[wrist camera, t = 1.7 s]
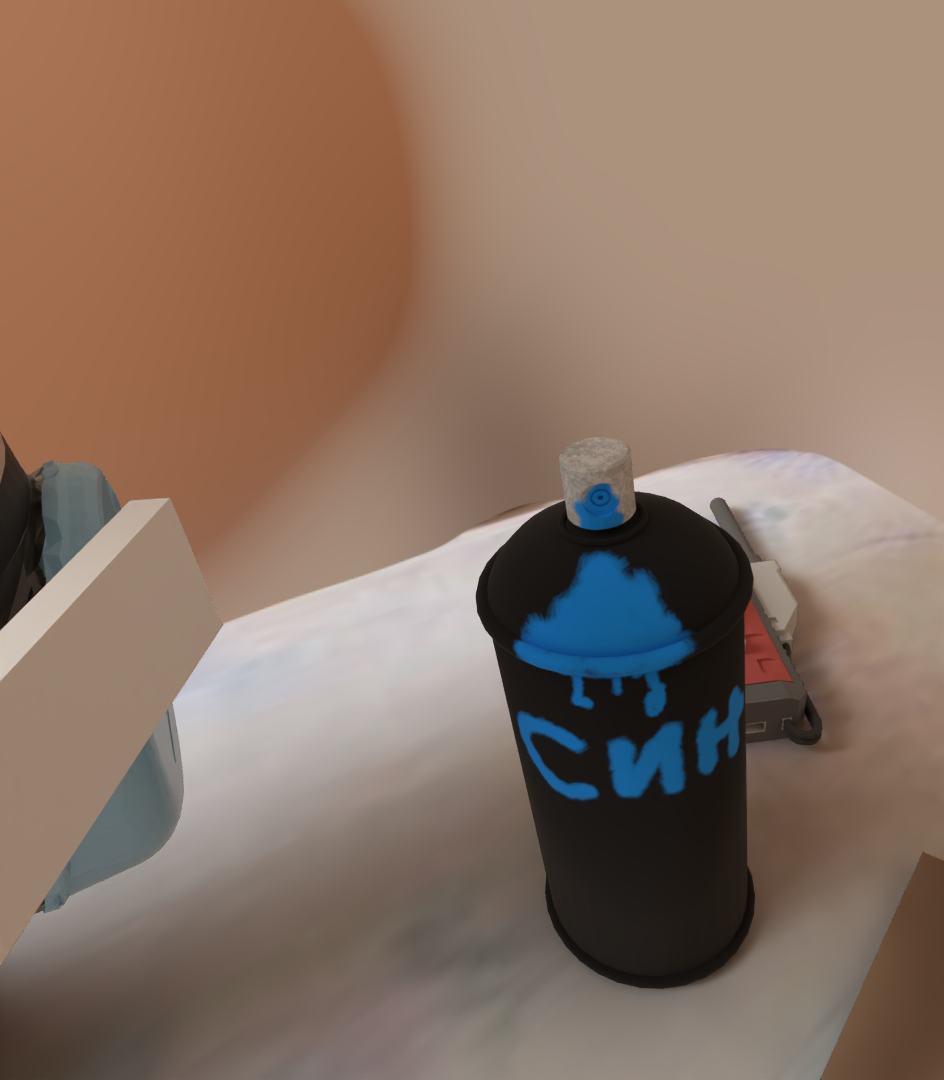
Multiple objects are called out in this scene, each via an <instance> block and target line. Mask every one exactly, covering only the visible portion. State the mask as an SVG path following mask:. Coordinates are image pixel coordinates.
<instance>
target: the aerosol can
mask: <svg viewBox="0 0 944 1080" xmlns="http://www.w3.org/2000/svg"><path fill="white" fill-rule="evenodd" d="M559 463H560V470H561V476H562V483H563V490H564V496H565V501H562V502H559V503H557V504H555V505H552V506H550V507H548V508H546V509H544V510H542V511H541V512H539V513H537V514H536V515H534V516H533V517H532V518H530V519H529V520H528V521H527V522H525V523H524V524H523V525H522V526H521V527H520V528H519V529H518V530H517V531H516V532H515V533H514V534H513V535H512V536H511V538H510V539H509V540H508V541H507V542H506V543H505V544H504V545H503V546H502V547H500V548H499V550H498V551H497V552H496V553H495V554H494V555H493V557H492V558H491V559H490V560H489V561H488V562H487V564H486V566H485V568H484V570H483V572H482V574H481V575H480V577H479V582H478V586H477V591H476V604H477V613H478V615H479V617H480V619H481V622H482V624H483V626H484V628H485V630H486V631H487V632H488V634H489V635H490V636H491V637H492V638H493V643H494V647H495V652H496V656H497V660H498V665H499V669H500V673H501V678H502V682H503V686H504V691H505V695H506V700H507V704H508V708H509V713H510V717H511V721H512V726H513V730H514V735H515V739H516V743H517V748H518V752H519V756H520V761H521V765H522V770H523V774H524V778H525V783H526V787H527V791H528V796H529V800H530V804H531V809H532V813H533V818H534V822H535V826H536V831H537V835H538V839H539V844H540V848H541V853H542V857H543V861H544V866H545V870H546V888H545V894H546V901H547V908H548V912H549V915H550V917H551V920H552V923H553V926H554V928H555V930H556V931H557V933H558V935H559V936H560V938H561V939H562V941H563V942H564V944H565V945H566V947H567V948H568V949H569V950H570V951H571V952H572V953H573V954H574V955H575V956H576V957H577V958H578V959H579V960H580V961H581V962H582V963H584V964H585V965H587V966H588V967H589V968H591V969H592V970H594V971H595V972H597V973H598V974H600V975H602V976H605V977H607V978H609V979H611V980H614V981H616V982H618V983H622V984H626V985H630V986H635V987H639V988H659V989H663V988H670V987H676V986H682V985H686V984H689V983H692V982H694V981H697V980H700V979H702V978H705V977H706V976H708V975H709V974H711V973H713V972H714V971H716V970H717V969H719V968H720V967H722V966H723V965H724V964H725V963H726V962H727V961H728V960H729V959H730V958H731V957H732V956H733V955H734V954H735V953H736V952H737V950H738V949H739V947H740V945H741V943H742V942H743V940H744V938H745V937H746V935H747V933H748V931H749V927H750V924H751V921H752V918H753V915H754V901H755V893H754V887H753V881H752V876H751V873H750V871H749V868H748V865H747V802H746V713H745V625H744V613H745V611H746V608H747V606H748V604H749V602H750V600H751V597H752V591H753V582H754V577H753V572H752V568H751V564H750V561H749V558H748V556H747V555H746V553H745V551H744V550H743V548H742V547H741V545H740V543H739V542H737V541H736V540H735V539H734V538H733V537H732V536H731V535H730V534H729V533H728V532H727V531H726V530H724V529H722V528H721V527H719V526H717V525H716V524H714V523H712V522H711V521H709V520H707V519H705V518H704V517H702V516H700V515H699V514H697V513H695V512H694V511H692V510H691V509H689V508H687V507H686V506H684V505H682V504H681V503H679V502H676V501H674V500H671V499H669V498H666V497H663V496H659V495H654V494H650V493H643V492H634V482H633V472H632V461H631V450H630V448H629V446H628V445H627V444H626V443H624V442H622V441H620V440H618V439H615V438H610V437H595V438H588V439H584V440H580V441H578V442H575V443H573V444H571V445H570V446H568V447H567V448H566V449H565V450H564V451H563V452H562V453H561V455H560V457H559Z"/></svg>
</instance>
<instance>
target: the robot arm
mask: <svg viewBox="0 0 944 1080" xmlns="http://www.w3.org/2000/svg"><path fill="white" fill-rule="evenodd" d="M222 626H223V624H222V621H221V619H220V617H219V614H218V612H217V609H216V607H215V605H214V602H213V600H212V597H211V595H210V593H209V590H208V588H207V585H206V583H205V581H204V578H203V576H202V573H201V571H200V569H199V566H198V564H197V561H196V559H195V557H194V555H193V552H192V550H191V547H190V545H189V542H188V540H187V538H186V535H185V533H184V530H183V528H182V526H181V523H180V521H179V518H178V516H177V514H176V511H175V509H174V506H173V504H172V502H171V499H170V498H162V499H148V500H133V501H129V502H128V503H127V504H126V506H124V508H122V509H121V506H120V503H119V501H118V498H117V496H116V494H115V492H114V490H113V488H112V487H111V485H110V484H109V482H108V481H107V480H106V478H105V476H104V474H103V472H102V471H101V470H100V469H99V468H97V467H96V466H94V465H93V464H91V463H83V462H77V463H68V464H64V463H62V462H53V461H50V462H47V463H44V464H43V466H42V467H41V468H39V469H38V470H36V471H35V472H33V473H32V474H30V475H28V474H26V473H25V471H24V470H23V468H22V467H21V466H20V464H19V463H18V461H17V459H16V457H15V456H14V454H13V452H12V451H11V449H10V448H9V446H8V444H7V443H6V441H5V439H4V437H3V436H2V434H1V432H0V965H1V964H2V962H3V961H4V959H5V958H6V956H7V955H8V953H9V952H10V950H11V949H12V947H13V946H14V944H15V942H16V941H17V939H18V938H19V936H20V935H21V933H22V932H23V930H24V929H25V927H26V926H27V924H28V923H29V921H30V920H31V918H32V916H33V915H34V914H35V913H38V912H40V911H44V913H46V912H50V911H53V910H56V909H59V908H60V907H61V906H62V905H64V903H65V902H66V900H67V899H68V897H69V896H71V895H73V894H75V893H77V892H79V891H81V890H84V889H86V888H88V887H90V886H92V885H95V884H97V883H99V882H101V881H103V880H105V879H108V878H110V877H112V876H114V875H116V874H118V873H121V872H123V871H125V870H127V869H129V868H132V867H134V866H136V865H138V864H140V863H142V862H144V861H146V860H147V859H149V858H150V857H152V856H153V855H154V854H156V853H157V852H158V851H159V850H160V849H161V848H162V847H163V846H164V845H165V843H166V842H167V841H168V840H169V838H170V837H171V835H172V833H173V832H174V830H175V827H176V825H177V822H178V820H179V818H180V813H181V809H182V803H183V795H184V786H183V770H182V761H181V753H180V745H179V738H178V732H177V726H176V720H175V715H174V709H173V704H172V702H173V701H174V699H175V698H176V696H177V695H178V693H179V692H180V690H181V689H182V687H183V686H184V684H185V682H186V681H187V679H188V678H189V676H190V675H191V673H192V672H193V670H194V669H195V667H196V666H197V664H198V663H199V661H200V660H201V658H202V656H203V655H204V653H205V652H206V650H207V649H208V647H209V646H210V644H211V643H212V641H213V640H214V638H215V637H216V635H217V634H218V632H219V630H220V629H221V627H222Z"/></svg>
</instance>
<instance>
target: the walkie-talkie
mask: <svg viewBox="0 0 944 1080" xmlns="http://www.w3.org/2000/svg"><path fill="white" fill-rule="evenodd" d="M710 508H711V510H712V512H713V514H714V516H715V518H716V520H717V522H718V524H719V526H720V527H721V528H722V529H724V530H726V531H727V532H728V533H729V534H730V535H731V536H732V537H733V538H734V539H735V540H736V541H737V542H739V543H740V545H741V547H742V548H743V550H744V551H745V553H746V555H747V556H748V558H749V561H750V564H751V568H752V572H753V577H754V582H753V591H752V597H751V600H750V602H749V604H748V606H747V608H746V611H745V613H744V625H745V713H746V743H752V742H760V741H767V740H775V739H783V738H790V739H791V740H792V741H793V742H795V743H797V744H801V745H812V744H815V743H817V742H818V741H819V739H820V738H821V731H822V722H821V719H820V717H819V715H818V713H817V711H816V709H815V707H814V705H813V703H812V701H811V699H810V698H809V696H808V694H807V690H806V689H805V688H804V686H803V684H804V683H803V682H802V681H801V680H800V679H799V674H798V673H796V671H795V666H794V665H792V663H791V659H790V658H791V657H790V655H791V653H792V644H793V638H792V636H793V634H794V632H795V629H796V624H797V615H798V606H799V605H798V603H797V601H796V599H795V597H794V596H793V594H792V592H791V591H790V589H789V587H788V585H787V584H786V582H785V580H784V579H783V577H782V575H781V573H780V572H781V569H780V567H779V565H778V563H777V562H776V561H775V560H770V561H763V562H762V561H761V559H760V557H759V556H758V555H756V554H755V553H754V552H753V550H752V548H751V546H750V545H749V543H748V541H747V539H746V537H745V536H744V534H743V532H742V530H741V528H740V527H739V525H738V523H737V521H736V520H735V518H734V516H733V514H732V512H731V511H730V509H729V507H728V505H727V503H726V502H725V500H724V499H722V498H715V499H713V500H712V501H711V503H710ZM804 713H805V715H806V717H807V719H808V721H809V723H810V725H811V726H812V730H810V731H802V730H800V728H801V727H802V725H803V721H804Z"/></svg>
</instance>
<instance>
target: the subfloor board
mask: <svg viewBox="0 0 944 1080" xmlns="http://www.w3.org/2000/svg"><path fill="white" fill-rule="evenodd" d="M820 1080H944V861H942V860H939V859H937V858H935V857H933V856H931V855H929V854H927V853H925V852H923V853H922V855H921V857H920V860H919V862H918V864H917V866H916V868H915V871H914V873H913V875H912V877H911V880H910V882H909V884H908V886H907V888H906V891H905V893H904V895H903V897H902V899H901V902H900V904H899V906H898V908H897V911H896V913H895V915H894V917H893V919H892V922H891V924H890V926H889V928H888V930H887V933H886V935H885V937H884V939H883V942H882V944H881V946H880V948H879V950H878V953H877V955H876V957H875V959H874V961H873V964H872V966H871V968H870V970H869V973H868V975H867V977H866V979H865V981H864V984H863V986H862V988H861V990H860V993H859V995H858V997H857V999H856V1001H855V1004H854V1006H853V1008H852V1010H851V1012H850V1015H849V1017H848V1019H847V1021H846V1024H845V1026H844V1028H843V1030H842V1032H841V1035H840V1037H839V1039H838V1041H837V1043H836V1046H835V1048H834V1050H833V1052H832V1055H831V1057H830V1059H829V1061H828V1063H827V1066H826V1068H825V1070H824V1072H823V1074H822V1077H821V1079H820Z"/></svg>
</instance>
